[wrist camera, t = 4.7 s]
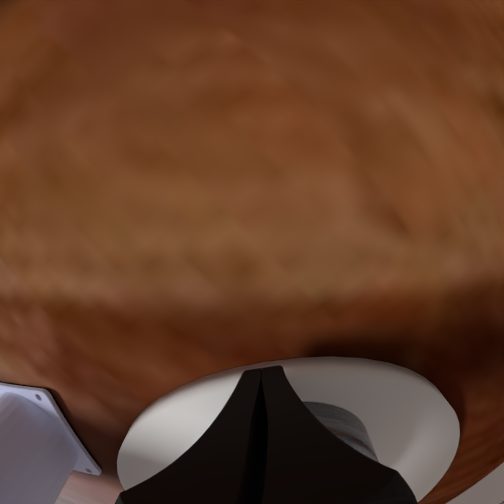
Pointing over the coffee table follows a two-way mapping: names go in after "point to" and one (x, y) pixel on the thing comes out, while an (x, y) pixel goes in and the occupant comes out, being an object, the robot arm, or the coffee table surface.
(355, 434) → the cast cover
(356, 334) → the coffee table surface
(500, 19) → the coffee table surface
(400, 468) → the turntable
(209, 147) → the coffee table surface
